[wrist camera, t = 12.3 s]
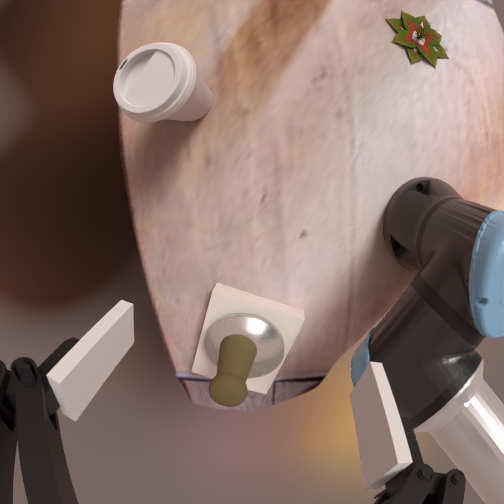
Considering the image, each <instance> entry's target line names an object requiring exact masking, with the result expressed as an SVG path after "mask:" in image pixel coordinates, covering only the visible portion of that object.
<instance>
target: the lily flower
mask: <svg viewBox="0 0 504 504" xmlns="http://www.w3.org/2000/svg"><path fill="white" fill-rule="evenodd" d="M401 11H402V10H401ZM402 17H403V20H400V19H386V18H385V19H386V20H387V21H388V22H389V23H390V24H391V25H392V26H393V28H394V29H395V30H396V31H397V32H398V34H397V35H396V37H395V40H393V41H392V42H395V43H400V44H401V45H405V46H407V51H408V54H409V57H410V59H411V64H413V63H415V62H416V61H420V60H422V59H423V58H424V56H425V57H426V58H427V59H428V60H429V62H430V63H431V64H432V65H433V66H434V67H435V66H436V61H437V57H441V58H448V57H447V54H446V53H445V51H444V49H443V48H442V46H441V45H440V44H439V43H440V41H441V37H442V36H441V35H440V34H439V33H437V32H436V30H433V29H431V28H430V25H429V23H428V21H427V20H426V19H425V15H424V16H421V17H417V18H415V17H413V16H411V15H409V14H407V13H404V12H403V11H402ZM422 21H423V26H424V27H423V28H422V26H421V25H420V24H421V23H422ZM400 27H406V29H407V30H402V29H401V28H400ZM414 31H416V32H417V38H418V39H421V38H423V39H425V43H424V45H423V46H422V45H421V44H419V43H417V42H415V41H414V40H413V39H412V36H413V32H414ZM419 33H420V35H419ZM423 36H424V37H425V38H424V37H423ZM421 40H422V39H421ZM422 41H423V40H422ZM431 45H434V46H435V47H436V49H437V50H438V51H439V52H438V51H435V49H434V48H433V47H432V46H431ZM415 47H418V49H419V51H417V52H415V53H414V49H413V48H415ZM448 59H449V58H448ZM435 68H436V67H435Z"/></svg>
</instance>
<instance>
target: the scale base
mask: <svg viewBox="0 0 504 504" xmlns="http://www.w3.org/2000/svg"><path fill="white" fill-rule="evenodd" d="M232 313H251V314H255V315H258V316H261V317H263V318H265V319H267V320H268V321H270V322H271V323H272V324H274V325H275V326H276V327H277V328H278V330H279V331H280V333H281V334H282V337H283V339H284V357H283V360H282V362H281V363H280V365H279V366H278V367H277V368H276V369H275V370H274V371H272V372H271V373H269V374H267V375H264V376H261V377H256V378H247V380H246V385H247V389H248V390H251V391H255V392H258V393H262V394H266V393H267V391H268V390H269V388H270V386H271V384H272V382H273V381H274V379H275V377H276V375H277V373H278V371H279V370H280V368H281V366H282V364H283V362H284V360H285V358H286V356H287V354H288V352H289V351H290V349H291V347H292V345H293V343H294V341H295V339H296V337H297V335H298V333H299V331H300V329H301V327H302V325H303V323H304V321H305V318H304V310H301V309H298V308H295V307H291V306H288V305H285V304H282V303H278V302H275V301H272V300H269V299H266V298H262V297H259V296H256V295H253V294H250V293H247V292H244V291H241V290H238V289H235V288H232V287H229V286H226V285H223V284H220V283H216V285H215V287H214V289H213V291H212V295H211V298H210V302H209V306H208V310H207V313H206V317H205V321H204V325H203V328H202V332H201V336H200V340H199V344H198V348H197V352H196V356H195V359H194V363H193V367H192V371H191V372H194V373H196V374H199V375H202V376H205V377H208V378H211V379H213V378H214V377H215V376H216V374H217V367H216V366H215V365H214V364H213V363H212V362H211V361H210V359H209V358H208V356H207V354H206V351H205V347H204V340H205V336H206V333H207V331H208V329H209V327H210V326H211V325H212V323H213V322H214V321H216V320H217V319H219V318H220V317H222V316H224V315H227V314H232Z"/></svg>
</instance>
